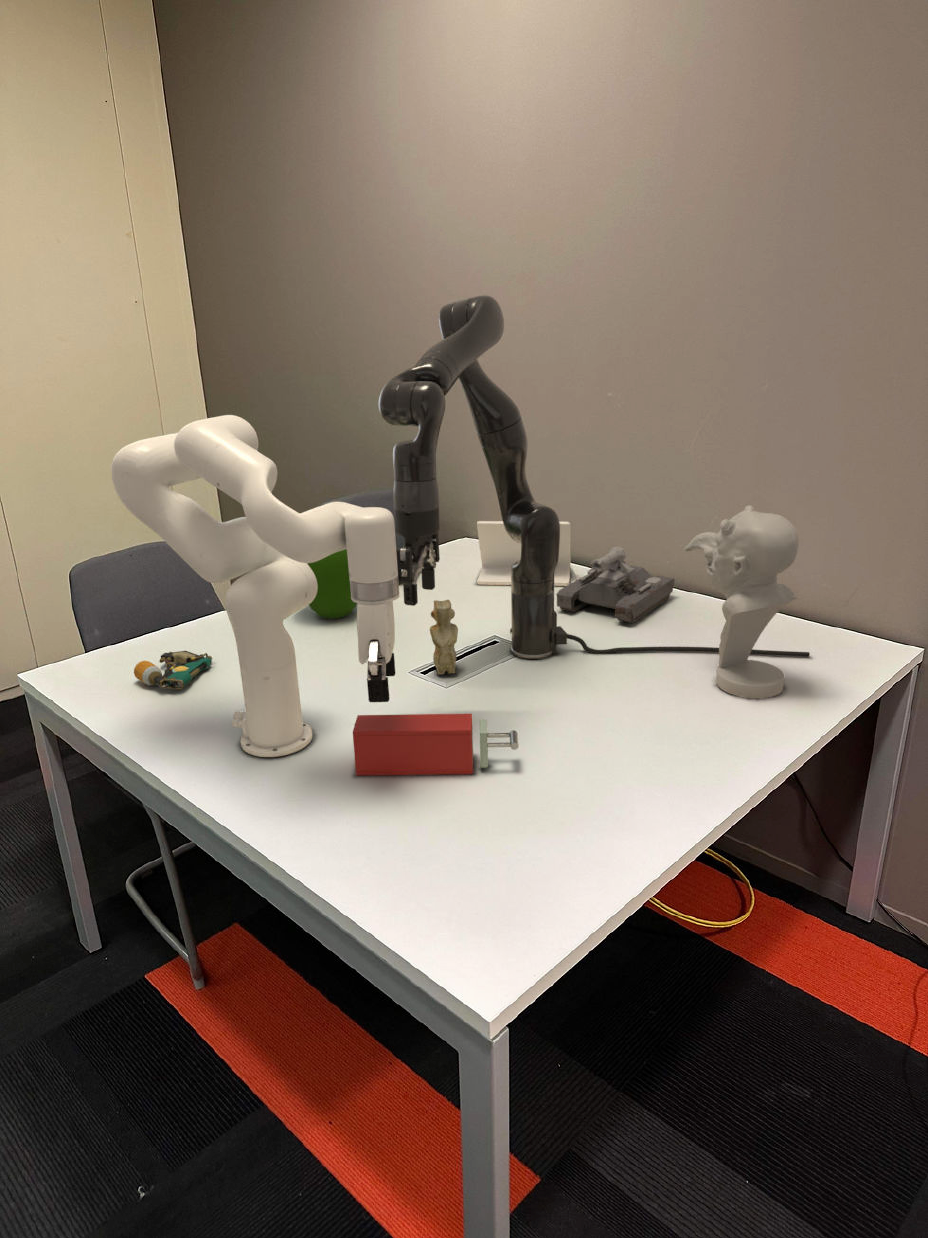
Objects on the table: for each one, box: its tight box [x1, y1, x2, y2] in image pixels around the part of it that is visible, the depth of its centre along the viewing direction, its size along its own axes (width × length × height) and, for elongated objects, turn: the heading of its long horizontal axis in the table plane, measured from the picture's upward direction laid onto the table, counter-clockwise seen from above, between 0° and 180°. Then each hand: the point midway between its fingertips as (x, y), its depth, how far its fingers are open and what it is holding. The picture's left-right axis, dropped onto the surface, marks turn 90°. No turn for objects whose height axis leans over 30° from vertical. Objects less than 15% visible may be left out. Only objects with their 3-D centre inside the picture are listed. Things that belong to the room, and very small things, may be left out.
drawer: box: [472, 719, 519, 768], centre depth 142 cm, size 23×5×6 cm, turn 89°
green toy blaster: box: [133, 650, 213, 690], centre depth 180 cm, size 4×17×15 cm
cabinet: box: [352, 713, 474, 776], centre depth 142 cm, size 19×6×8 cm, turn 89°
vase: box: [307, 549, 357, 620], centre depth 209 cm, size 20×20×24 cm
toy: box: [556, 546, 676, 624], centre depth 212 cm, size 25×20×15 cm
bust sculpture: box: [684, 505, 799, 699], centre depth 167 cm, size 16×24×35 cm
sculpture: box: [429, 599, 459, 675], centre depth 177 cm, size 6×7×15 cm
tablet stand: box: [476, 520, 572, 587], centre depth 236 cm, size 18×25×17 cm
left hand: (382, 688), depth 138 cm, fingers open, 9 cm apart
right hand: (419, 596), depth 148 cm, fingers open, 8 cm apart
